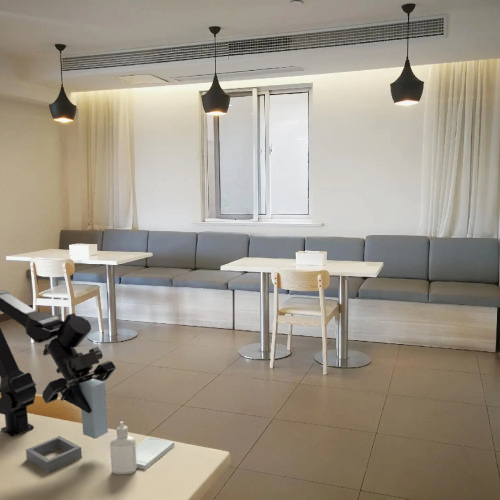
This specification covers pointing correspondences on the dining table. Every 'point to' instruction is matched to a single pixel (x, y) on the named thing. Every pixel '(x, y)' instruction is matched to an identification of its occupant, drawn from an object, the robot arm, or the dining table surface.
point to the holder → (48, 465)
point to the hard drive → (151, 451)
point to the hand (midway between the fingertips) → (97, 409)
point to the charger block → (94, 408)
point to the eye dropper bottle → (123, 452)
